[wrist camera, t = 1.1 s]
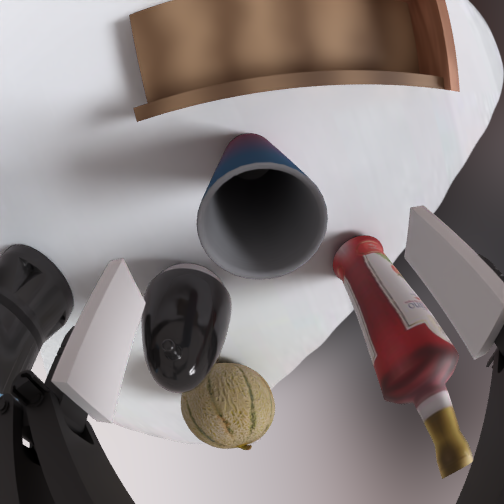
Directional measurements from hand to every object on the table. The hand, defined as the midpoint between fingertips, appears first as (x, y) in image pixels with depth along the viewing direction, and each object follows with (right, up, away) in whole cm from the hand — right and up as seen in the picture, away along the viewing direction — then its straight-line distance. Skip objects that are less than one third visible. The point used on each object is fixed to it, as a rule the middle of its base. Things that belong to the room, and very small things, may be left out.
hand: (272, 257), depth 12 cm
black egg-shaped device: (-9, -4, +23) cm, 25 cm away
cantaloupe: (-5, -20, +34) cm, 40 cm away
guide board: (+3, +21, +8) cm, 22 cm away
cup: (-1, +10, +15) cm, 18 cm away
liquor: (+12, 0, +22) cm, 25 cm away
